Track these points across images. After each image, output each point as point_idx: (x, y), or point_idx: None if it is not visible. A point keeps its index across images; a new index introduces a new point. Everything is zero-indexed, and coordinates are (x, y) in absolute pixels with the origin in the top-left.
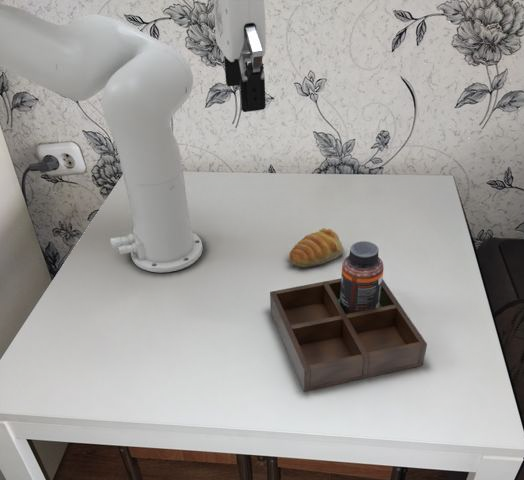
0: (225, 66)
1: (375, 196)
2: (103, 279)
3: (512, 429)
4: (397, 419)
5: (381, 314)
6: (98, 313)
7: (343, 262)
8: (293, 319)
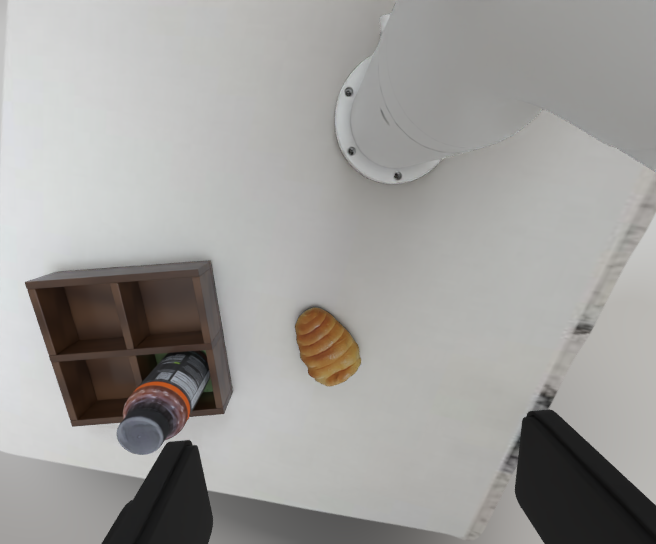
0: (624, 501)
1: (447, 447)
2: None
3: (4, 449)
4: (14, 356)
5: None
6: None
7: (160, 392)
8: (184, 286)
